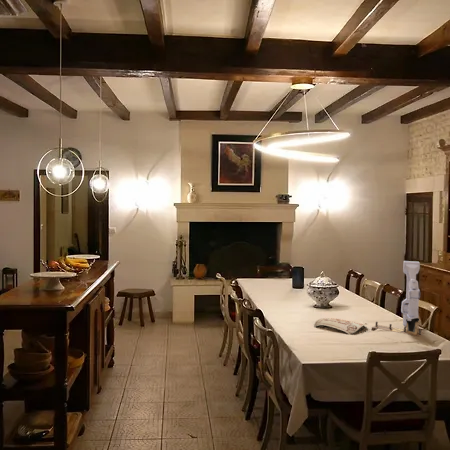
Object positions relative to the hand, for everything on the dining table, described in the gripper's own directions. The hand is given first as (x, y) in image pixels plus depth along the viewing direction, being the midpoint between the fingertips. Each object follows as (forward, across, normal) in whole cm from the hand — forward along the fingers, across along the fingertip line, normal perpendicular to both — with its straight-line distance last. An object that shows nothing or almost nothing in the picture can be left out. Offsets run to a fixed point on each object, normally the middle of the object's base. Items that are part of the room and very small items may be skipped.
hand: (412, 330), depth 317 cm
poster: (+4, +12, -42) cm, 44 cm away
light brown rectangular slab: (+2, 0, 0) cm, 2 cm away
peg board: (+3, 0, -9) cm, 10 cm away
